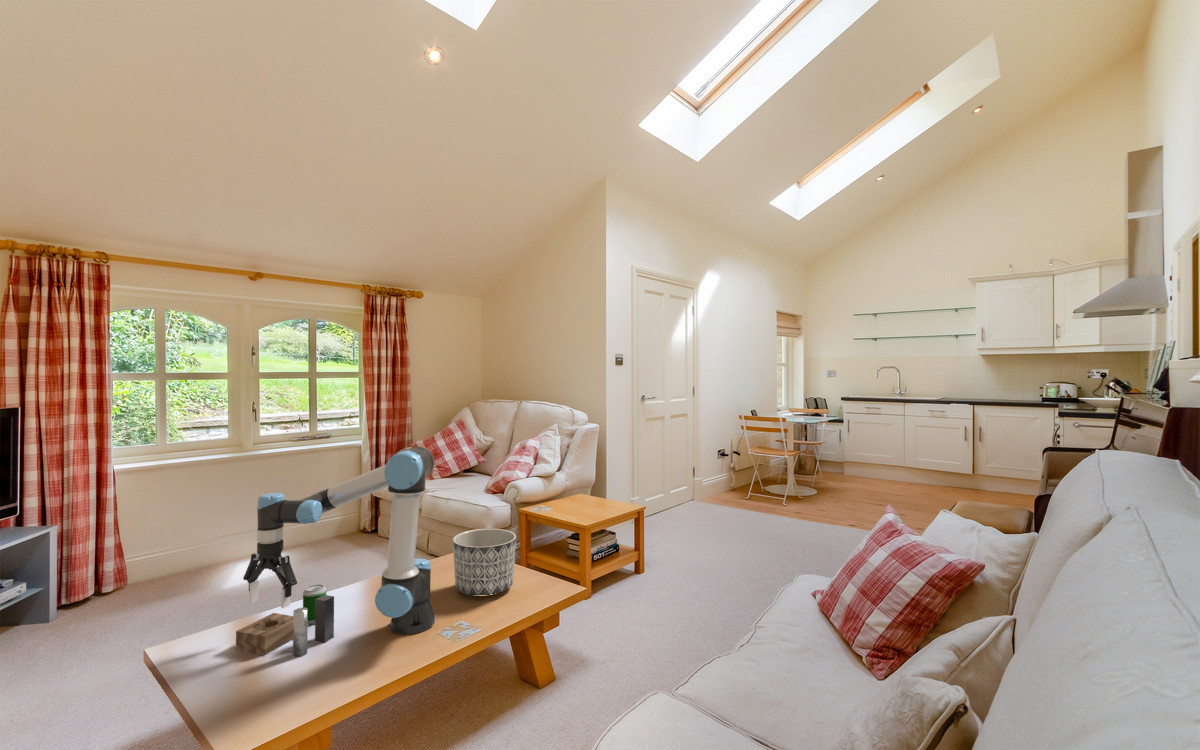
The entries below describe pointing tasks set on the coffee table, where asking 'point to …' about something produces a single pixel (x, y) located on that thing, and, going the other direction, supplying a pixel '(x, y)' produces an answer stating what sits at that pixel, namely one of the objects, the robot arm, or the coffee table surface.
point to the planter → (484, 561)
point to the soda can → (312, 600)
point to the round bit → (300, 632)
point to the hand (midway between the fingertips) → (269, 604)
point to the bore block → (265, 634)
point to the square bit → (324, 618)
